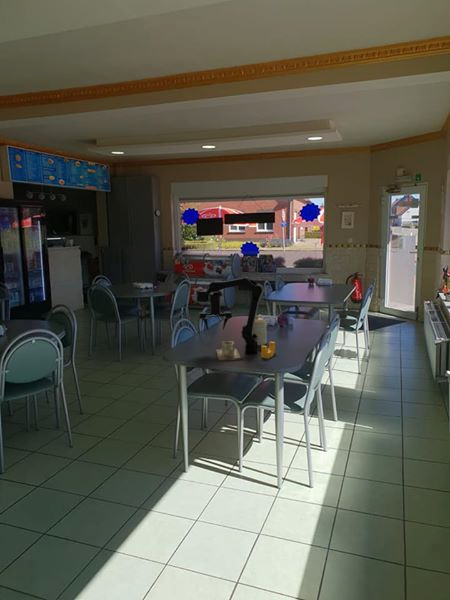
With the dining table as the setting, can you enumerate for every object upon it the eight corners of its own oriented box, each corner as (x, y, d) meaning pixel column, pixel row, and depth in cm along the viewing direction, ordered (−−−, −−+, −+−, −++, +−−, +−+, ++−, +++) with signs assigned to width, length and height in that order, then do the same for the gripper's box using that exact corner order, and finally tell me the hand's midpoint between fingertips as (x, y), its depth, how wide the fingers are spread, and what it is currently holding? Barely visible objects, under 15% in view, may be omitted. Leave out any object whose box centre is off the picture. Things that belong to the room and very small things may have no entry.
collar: (233, 351, 264) (233, 341, 263) (234, 354, 257) (234, 344, 256) (221, 351, 263) (221, 341, 262) (222, 355, 257) (222, 344, 256)
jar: (242, 344, 283) (242, 316, 280) (249, 339, 295) (249, 312, 292) (263, 346, 279) (263, 317, 276) (269, 341, 291) (269, 313, 288)
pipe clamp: (268, 358, 254) (268, 347, 253) (261, 357, 256) (261, 346, 255) (277, 353, 264) (277, 342, 263) (270, 352, 267) (270, 341, 266)
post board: (236, 350, 270) (236, 341, 269) (240, 359, 252) (240, 349, 251) (216, 351, 269) (216, 342, 268) (218, 360, 251) (218, 350, 250)
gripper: (229, 300, 277) (229, 326, 279) (198, 301, 275) (198, 327, 278) (231, 303, 266) (232, 330, 268) (199, 304, 264) (199, 331, 267)
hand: (215, 329), depth 271 cm, fingers open, 9 cm apart
